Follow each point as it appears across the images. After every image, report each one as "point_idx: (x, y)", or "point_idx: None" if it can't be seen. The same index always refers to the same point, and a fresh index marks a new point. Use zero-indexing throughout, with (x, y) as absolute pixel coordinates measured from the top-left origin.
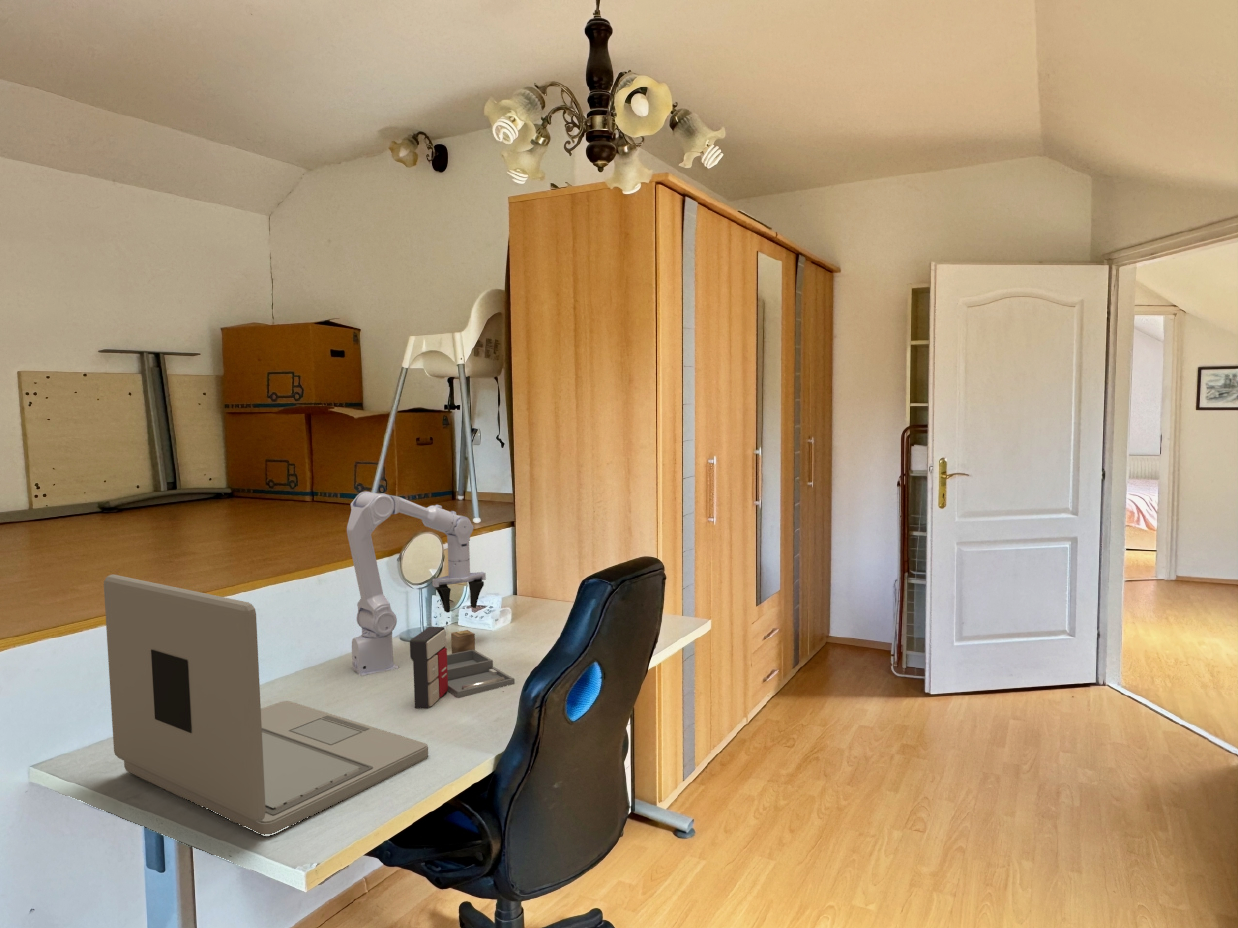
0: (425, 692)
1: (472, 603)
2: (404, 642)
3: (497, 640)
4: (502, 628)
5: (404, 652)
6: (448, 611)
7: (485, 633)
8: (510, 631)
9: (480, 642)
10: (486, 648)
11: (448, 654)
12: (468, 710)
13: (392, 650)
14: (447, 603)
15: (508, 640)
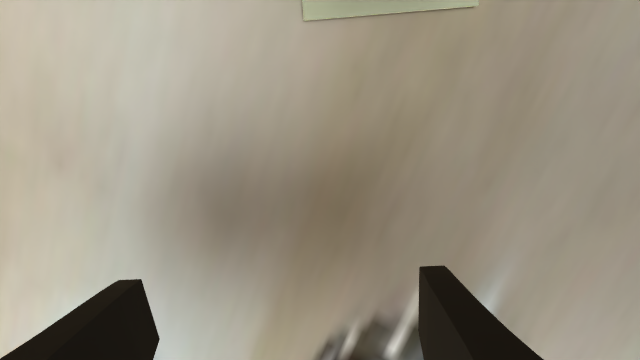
0: None
1: (130, 339)
2: None
3: (99, 145)
4: (42, 315)
5: (606, 216)
6: (437, 270)
7: None
8: (8, 254)
9: (197, 162)
10: (193, 27)
11: (452, 7)
12: None
13: None
14: (488, 326)
15: (38, 109)
